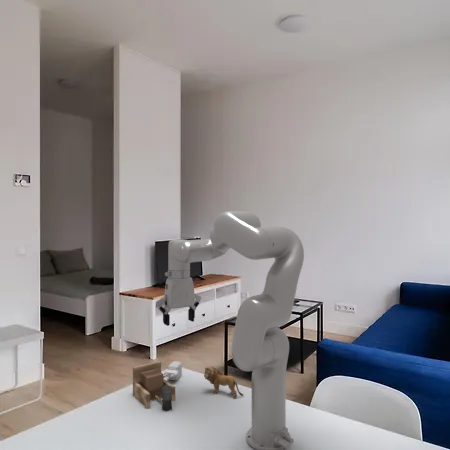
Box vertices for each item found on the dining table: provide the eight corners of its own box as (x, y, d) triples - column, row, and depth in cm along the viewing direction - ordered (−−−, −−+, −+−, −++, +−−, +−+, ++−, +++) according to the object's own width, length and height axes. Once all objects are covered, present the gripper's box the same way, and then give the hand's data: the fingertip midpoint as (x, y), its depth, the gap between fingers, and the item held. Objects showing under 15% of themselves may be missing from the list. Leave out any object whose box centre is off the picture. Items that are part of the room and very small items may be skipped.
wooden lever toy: (177, 408, 132) (177, 384, 132) (160, 413, 128) (160, 388, 128) (156, 390, 145) (156, 368, 145) (140, 395, 141) (140, 372, 141)
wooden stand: (175, 400, 138) (175, 371, 137) (147, 408, 132) (146, 378, 131) (159, 387, 147) (159, 360, 147) (132, 395, 141) (132, 366, 141)
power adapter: (172, 387, 148) (172, 371, 148) (160, 386, 149) (160, 370, 149) (183, 375, 158) (183, 361, 158) (172, 374, 160) (172, 360, 160)
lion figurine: (201, 393, 143) (201, 368, 142) (207, 387, 148) (207, 363, 147) (241, 400, 138) (241, 374, 137) (245, 393, 143) (245, 368, 142)
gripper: (161, 278, 133) (161, 329, 134) (205, 273, 143) (205, 321, 143) (151, 275, 140) (152, 324, 140) (195, 271, 149) (195, 317, 150)
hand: (179, 322), depth 142 cm, fingers open, 9 cm apart
